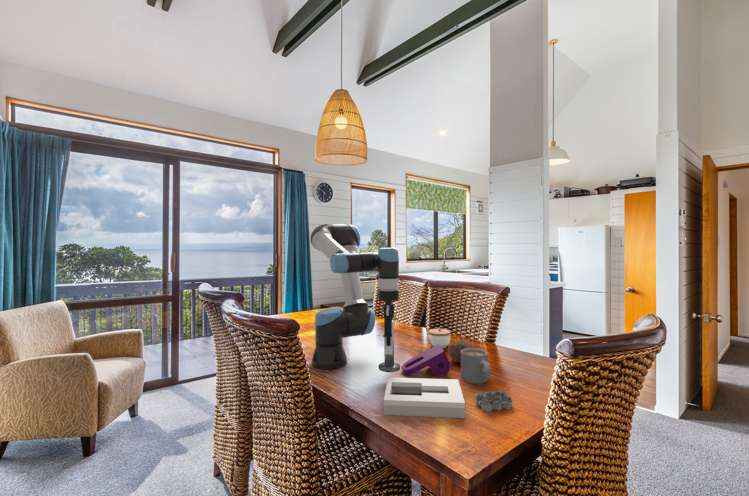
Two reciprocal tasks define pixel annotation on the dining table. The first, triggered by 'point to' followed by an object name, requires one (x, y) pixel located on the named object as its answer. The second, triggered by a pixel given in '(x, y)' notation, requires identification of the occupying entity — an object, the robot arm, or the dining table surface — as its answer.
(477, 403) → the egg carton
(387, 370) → the headed peg
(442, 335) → the lidded jar
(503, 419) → the dining table surface
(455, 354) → the decorative rock
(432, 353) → the mounting bracket
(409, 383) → the keyhole plate
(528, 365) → the dining table surface
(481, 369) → the coffee mug
